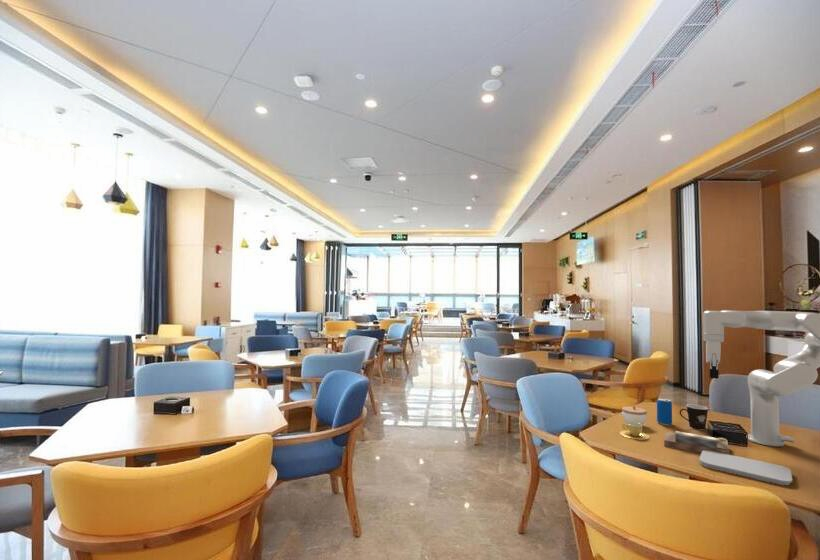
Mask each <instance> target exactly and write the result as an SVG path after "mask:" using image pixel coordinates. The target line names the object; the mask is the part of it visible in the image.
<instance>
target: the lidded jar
mask: <svg viewBox="0 0 820 560" xmlns="http://www.w3.org/2000/svg"><path fill="white" fill-rule="evenodd" d="M621 413H622V414H621V415H622V418H623V420H624V422H625V424H627V422H636V423H640V424H642V425H643V426H644V425H645V424H646V422H647V421H646V420H647V413H648V412H647V410H646V409H645V408H642V407H638V406H637V407H636V405H632V406H622V407H621Z"/></svg>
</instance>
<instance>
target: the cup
mask: <svg viewBox="0 0 820 560" xmlns="http://www.w3.org/2000/svg"><path fill="white" fill-rule="evenodd" d="M643 426H644V424H643V425H642V424H640V423H636V422H627V423H623V424H622V426H621V427H622V429H623V430H621V431H619V435H620V436H623V437H625V438H628V439H631V438H632V439H633V440H637V441H638V440H641V441H643V440H649V439H650V436H649V434H647V433H644V432H643ZM626 433H627V434H626ZM628 434H629V435H628ZM641 435H642V436H643V437H642V436H641ZM635 436H637V437H635ZM640 436H641V437H640Z"/></svg>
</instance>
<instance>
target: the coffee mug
mask: <svg viewBox="0 0 820 560" xmlns="http://www.w3.org/2000/svg"><path fill="white" fill-rule="evenodd" d="M682 411H686V412H687V417H685V416H683V415H682ZM708 411H709V408H708V406H704V405H698V404H686V408H681V409H680V410H679V415H680V416H681V417H682V418H683V419H684V420H686V421H687V422H688V425H689V428H691V427H692V428H691V429H694V428H695V429H694V430H699V429H705V428H706V427H707V419H708ZM706 429H707V428H706ZM706 429H705V430H706Z"/></svg>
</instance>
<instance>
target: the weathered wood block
mask: <svg viewBox="0 0 820 560" xmlns="http://www.w3.org/2000/svg"><path fill="white" fill-rule="evenodd" d="M663 440H664V441H663V442H664V443H663V445H664V447H667V446H668V447H667V448H672V447H673V449H677V450H682V449H683V451H687V450H688V452H694V453H699V454H701V453H702V451H703V450H709V451H715V452H719V453H724V454H729V455H731V454H730V448H729V446H728V449H722V448H717V441H715V440H709V439H703V438H698V437H692V436H686V435H681V434H676V432H670V431H666V432H665V435H664V439H663Z"/></svg>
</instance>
